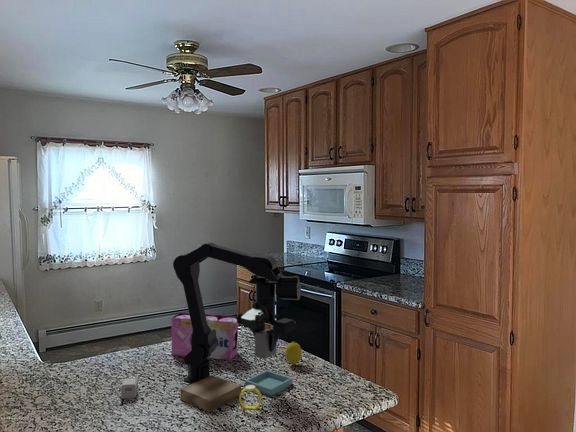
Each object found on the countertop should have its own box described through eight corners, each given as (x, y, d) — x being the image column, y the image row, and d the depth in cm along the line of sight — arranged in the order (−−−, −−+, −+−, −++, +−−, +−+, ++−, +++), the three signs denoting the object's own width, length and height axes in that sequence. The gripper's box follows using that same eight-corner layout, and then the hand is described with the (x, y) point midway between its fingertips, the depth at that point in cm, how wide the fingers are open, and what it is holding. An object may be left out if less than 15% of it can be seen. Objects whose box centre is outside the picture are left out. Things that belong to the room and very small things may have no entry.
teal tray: (244, 387, 135) (244, 380, 135) (266, 376, 143) (266, 370, 143) (271, 396, 129) (271, 389, 129) (292, 384, 137) (292, 378, 137)
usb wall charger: (121, 399, 127) (120, 385, 127) (125, 388, 134) (124, 375, 134) (135, 397, 128) (135, 384, 127) (139, 387, 134) (139, 374, 134)
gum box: (241, 353, 164) (241, 316, 163) (234, 361, 156) (234, 322, 155) (180, 347, 169) (180, 312, 168) (170, 355, 161) (170, 317, 161)
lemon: (300, 368, 149) (300, 345, 149) (283, 367, 151) (283, 343, 150) (302, 362, 155) (303, 339, 154) (287, 361, 156) (287, 338, 156)
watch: (239, 411, 121) (237, 389, 121) (241, 406, 124) (239, 385, 123) (261, 410, 120) (259, 388, 120) (262, 405, 123) (261, 384, 123)
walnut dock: (180, 399, 127) (180, 388, 127) (211, 384, 136) (211, 375, 136) (210, 411, 120) (210, 400, 119) (241, 395, 129) (241, 385, 129)
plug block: (255, 355, 134) (254, 332, 134) (266, 351, 138) (265, 328, 138) (265, 358, 132) (265, 335, 131) (276, 354, 135) (276, 331, 135)
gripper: (223, 298, 133) (224, 350, 134) (272, 308, 122) (272, 365, 123) (249, 292, 142) (249, 341, 143) (297, 300, 131) (297, 353, 131)
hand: (265, 349), depth 135 cm, fingers closed on plug block, 4 cm apart
